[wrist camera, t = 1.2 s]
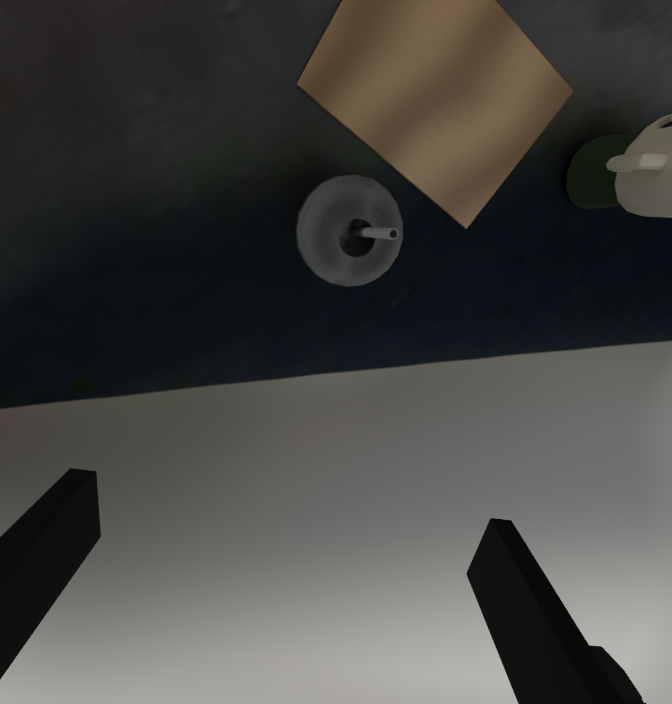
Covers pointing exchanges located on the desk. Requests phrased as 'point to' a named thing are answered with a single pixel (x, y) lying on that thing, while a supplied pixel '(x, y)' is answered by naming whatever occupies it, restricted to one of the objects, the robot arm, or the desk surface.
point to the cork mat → (437, 92)
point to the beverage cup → (349, 229)
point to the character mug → (625, 171)
